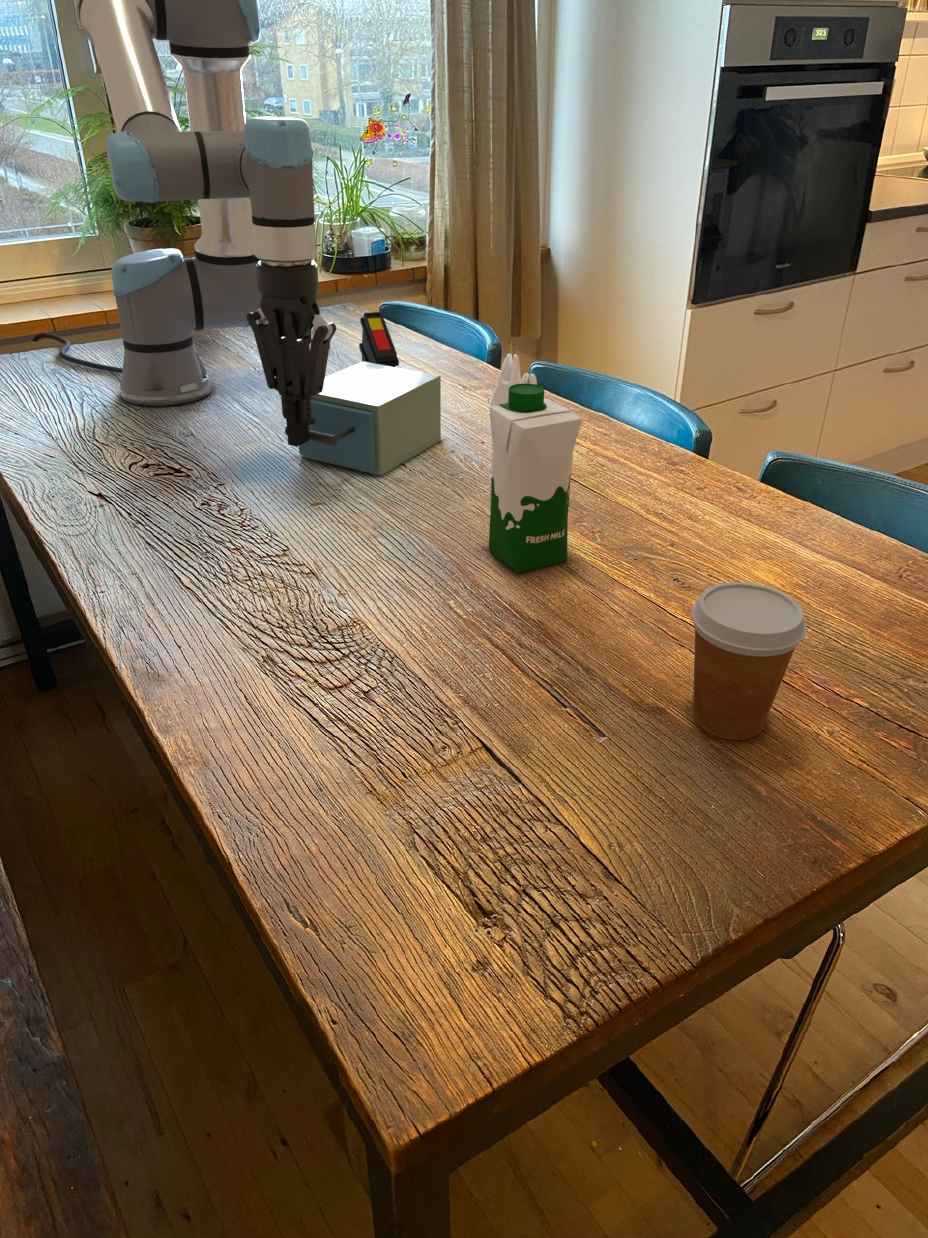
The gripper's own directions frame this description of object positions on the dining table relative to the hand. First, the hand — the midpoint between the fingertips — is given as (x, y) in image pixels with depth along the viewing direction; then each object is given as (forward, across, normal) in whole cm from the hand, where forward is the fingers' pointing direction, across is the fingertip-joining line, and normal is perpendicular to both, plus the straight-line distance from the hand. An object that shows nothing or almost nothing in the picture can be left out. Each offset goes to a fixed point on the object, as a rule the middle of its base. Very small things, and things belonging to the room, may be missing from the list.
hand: (298, 442), depth 125 cm
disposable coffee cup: (+6, -67, +22) cm, 71 cm away
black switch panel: (+6, +10, -34) cm, 36 cm away
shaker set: (+6, -14, -38) cm, 41 cm away
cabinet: (+6, 0, -17) cm, 18 cm away
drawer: (+5, 0, -12) cm, 13 cm away
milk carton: (+6, -37, +3) cm, 37 cm away
